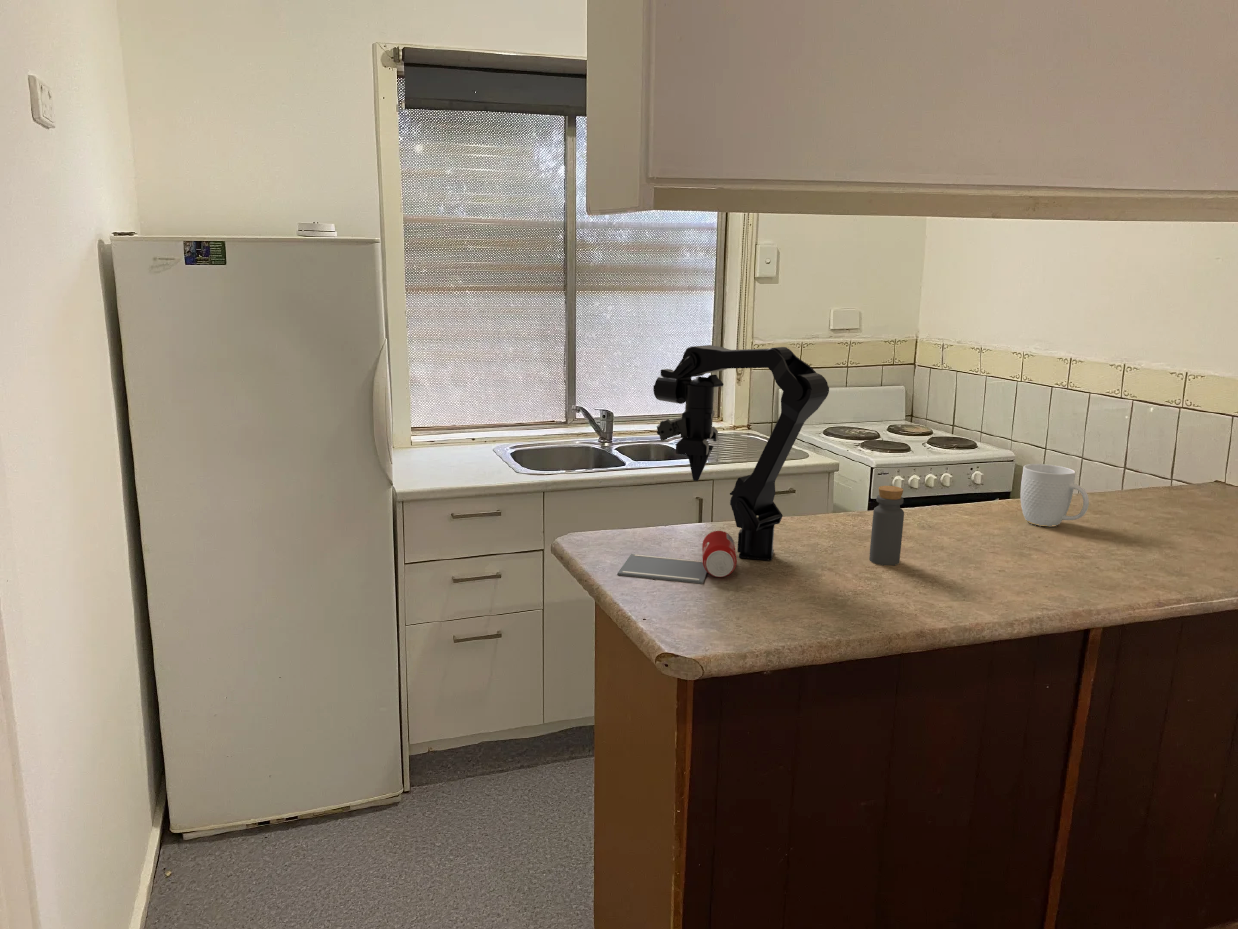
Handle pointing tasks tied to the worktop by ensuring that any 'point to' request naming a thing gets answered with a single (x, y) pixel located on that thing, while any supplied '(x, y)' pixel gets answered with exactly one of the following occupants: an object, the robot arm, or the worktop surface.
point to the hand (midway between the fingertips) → (695, 480)
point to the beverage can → (719, 554)
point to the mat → (664, 568)
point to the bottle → (887, 527)
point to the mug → (1049, 494)
